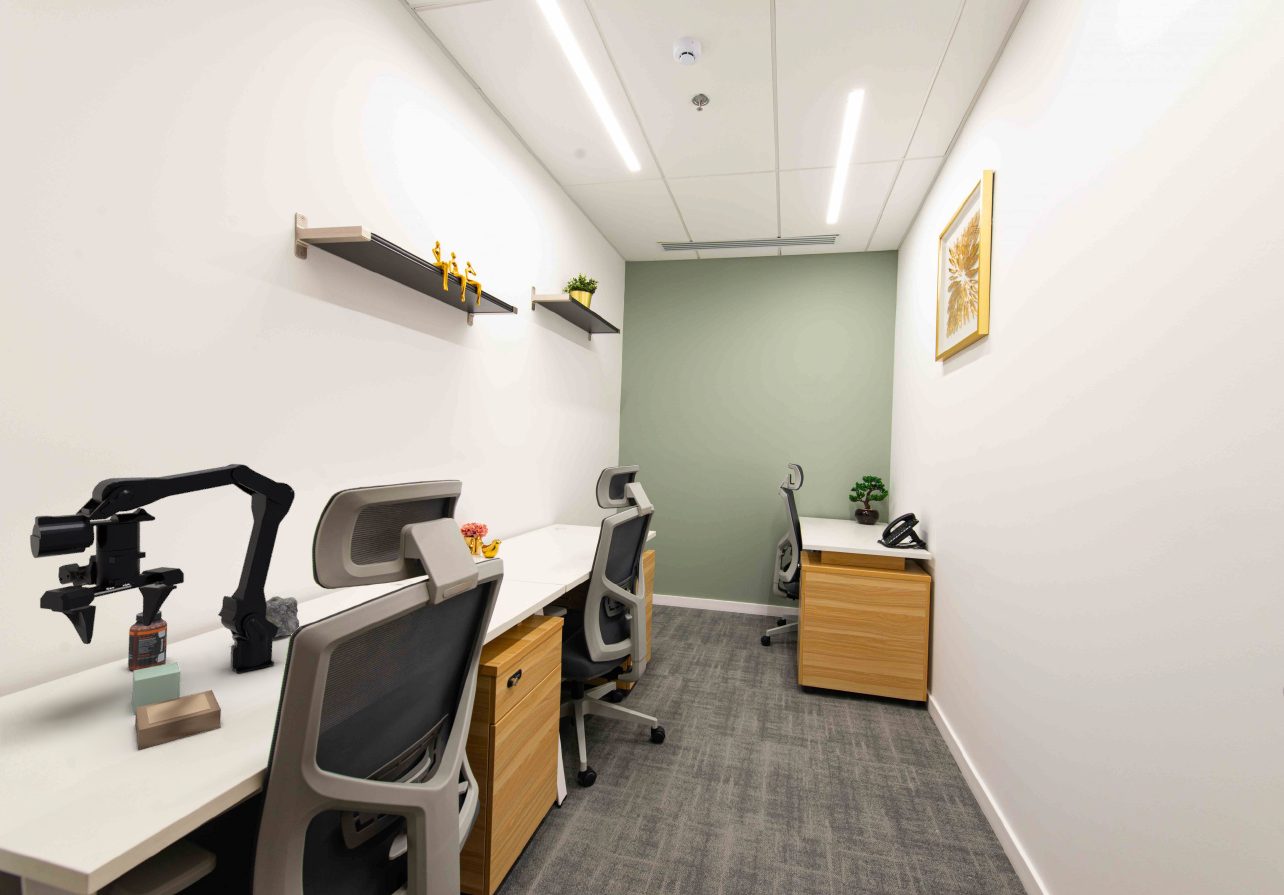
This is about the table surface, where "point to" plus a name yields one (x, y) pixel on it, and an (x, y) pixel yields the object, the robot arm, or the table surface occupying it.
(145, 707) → the walnut base
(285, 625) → the mineral rock
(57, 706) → the table surface
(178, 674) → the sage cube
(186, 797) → the table surface
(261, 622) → the robot arm
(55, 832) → the table surface
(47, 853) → the table surface
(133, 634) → the supplement bottle
